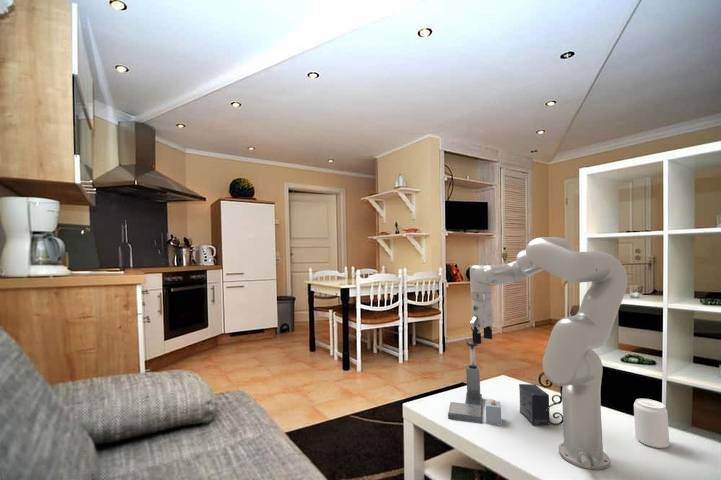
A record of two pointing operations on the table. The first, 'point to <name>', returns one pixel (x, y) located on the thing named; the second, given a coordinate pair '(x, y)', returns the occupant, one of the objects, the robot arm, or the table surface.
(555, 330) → the robot arm
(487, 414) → the housing
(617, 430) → the table surface
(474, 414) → the press
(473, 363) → the plunger
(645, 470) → the table surface
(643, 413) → the white cylindrical container
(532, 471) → the table surface
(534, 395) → the small box
